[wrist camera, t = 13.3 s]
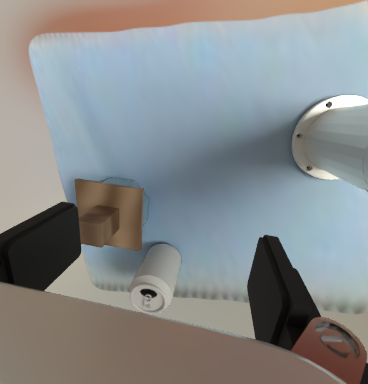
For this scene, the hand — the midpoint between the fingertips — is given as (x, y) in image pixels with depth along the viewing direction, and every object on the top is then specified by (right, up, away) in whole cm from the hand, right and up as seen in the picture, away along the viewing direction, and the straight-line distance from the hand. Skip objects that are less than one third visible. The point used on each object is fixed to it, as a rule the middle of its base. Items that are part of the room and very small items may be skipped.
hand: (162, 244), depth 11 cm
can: (-3, -11, +35) cm, 37 cm away
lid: (-12, -2, +28) cm, 30 cm away
